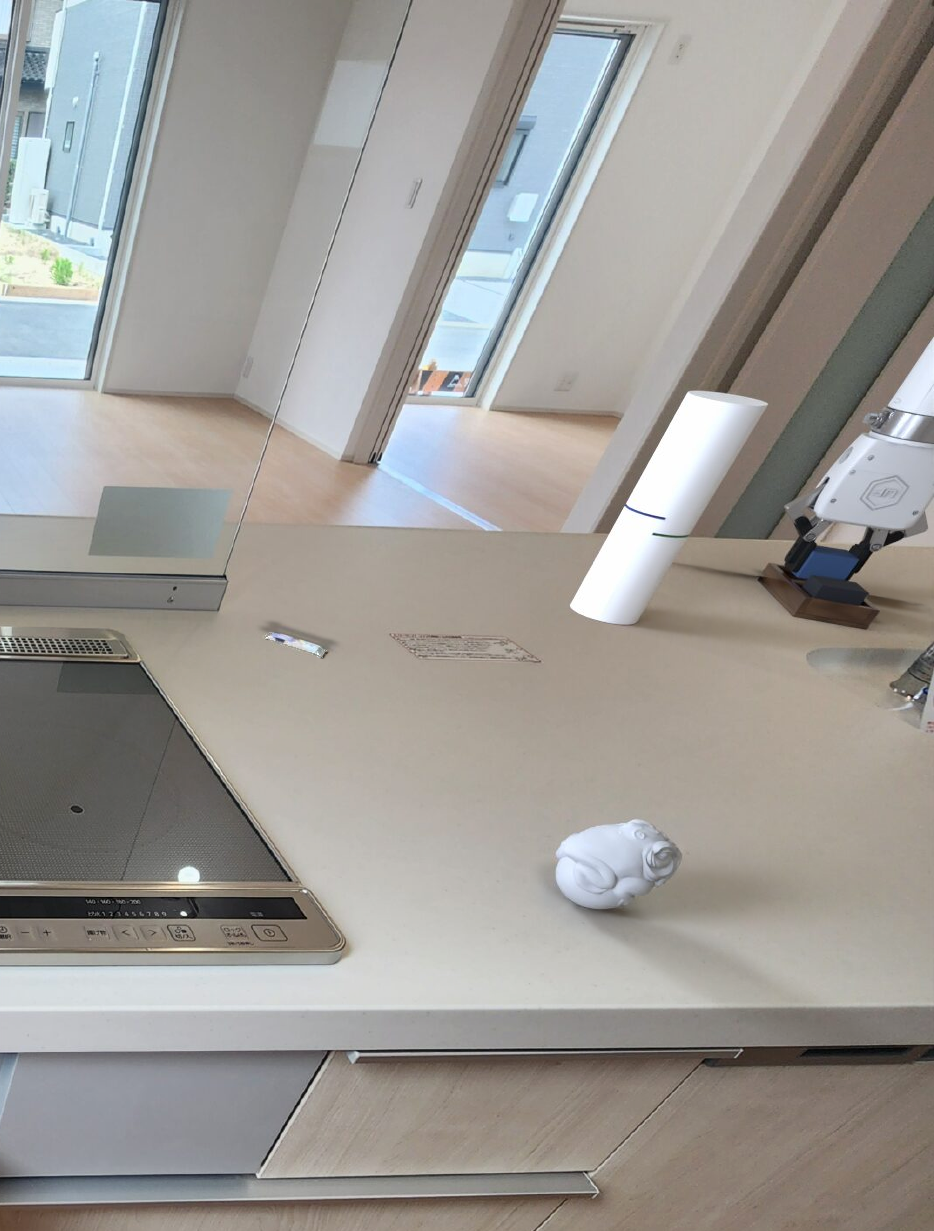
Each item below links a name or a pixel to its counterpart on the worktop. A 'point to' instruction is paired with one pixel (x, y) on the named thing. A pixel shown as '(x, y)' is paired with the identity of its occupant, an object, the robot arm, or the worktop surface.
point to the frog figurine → (615, 863)
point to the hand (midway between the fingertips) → (816, 571)
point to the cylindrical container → (666, 504)
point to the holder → (814, 600)
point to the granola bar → (296, 643)
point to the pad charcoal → (834, 590)
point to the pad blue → (828, 563)
